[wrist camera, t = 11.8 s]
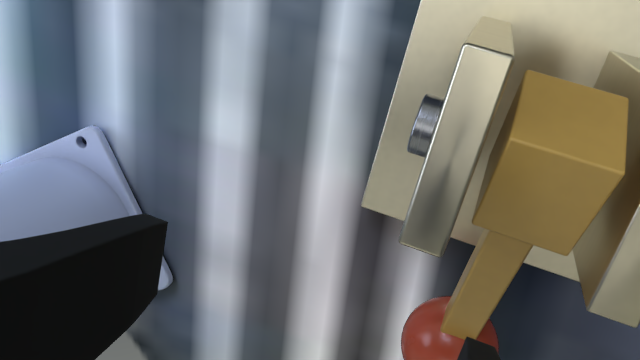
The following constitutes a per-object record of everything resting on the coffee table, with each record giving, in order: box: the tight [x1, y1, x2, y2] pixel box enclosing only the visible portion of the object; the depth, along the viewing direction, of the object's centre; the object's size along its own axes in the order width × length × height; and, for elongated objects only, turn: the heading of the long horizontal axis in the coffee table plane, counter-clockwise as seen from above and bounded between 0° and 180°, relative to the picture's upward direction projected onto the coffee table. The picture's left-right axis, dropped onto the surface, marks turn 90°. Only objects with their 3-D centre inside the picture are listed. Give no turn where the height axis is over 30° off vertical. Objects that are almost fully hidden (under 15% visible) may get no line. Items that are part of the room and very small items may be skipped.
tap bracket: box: [361, 0, 640, 328], centre depth 16 cm, size 11×9×10 cm
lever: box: [401, 70, 629, 360], centre depth 16 cm, size 12×3×3 cm, turn 166°
